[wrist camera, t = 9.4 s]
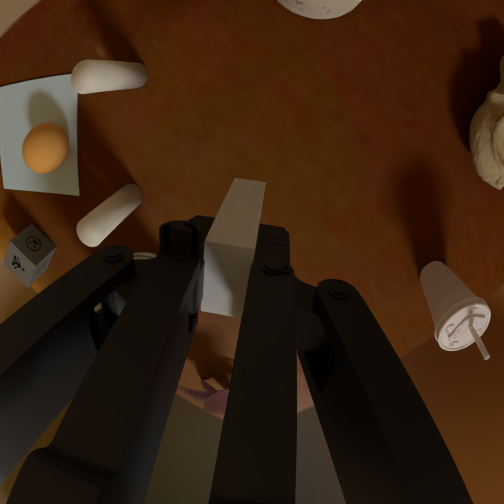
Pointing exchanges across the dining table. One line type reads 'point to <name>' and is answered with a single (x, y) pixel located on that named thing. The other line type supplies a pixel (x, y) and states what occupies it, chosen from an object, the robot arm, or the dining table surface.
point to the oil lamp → (489, 136)
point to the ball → (45, 147)
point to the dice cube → (29, 254)
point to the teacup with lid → (320, 7)
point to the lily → (209, 397)
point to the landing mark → (27, 117)
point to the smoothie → (454, 309)
